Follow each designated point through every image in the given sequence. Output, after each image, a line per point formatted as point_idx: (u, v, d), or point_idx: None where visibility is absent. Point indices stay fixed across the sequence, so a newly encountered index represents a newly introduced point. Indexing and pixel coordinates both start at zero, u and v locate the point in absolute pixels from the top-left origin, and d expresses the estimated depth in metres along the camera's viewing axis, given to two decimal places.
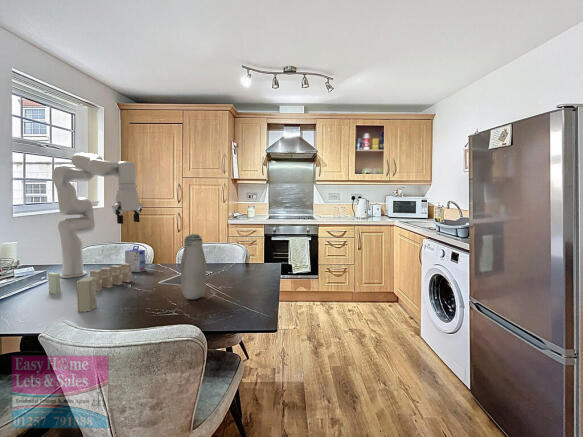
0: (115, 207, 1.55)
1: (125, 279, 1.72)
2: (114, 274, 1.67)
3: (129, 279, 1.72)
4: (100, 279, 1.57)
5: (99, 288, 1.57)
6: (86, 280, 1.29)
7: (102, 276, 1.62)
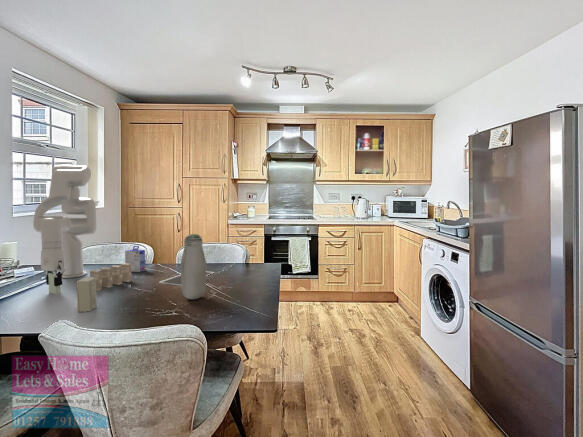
0: None
1: (125, 279, 1.72)
2: (114, 274, 1.67)
3: (129, 279, 1.72)
4: (100, 279, 1.57)
5: (99, 288, 1.57)
6: (86, 280, 1.29)
7: (102, 276, 1.62)
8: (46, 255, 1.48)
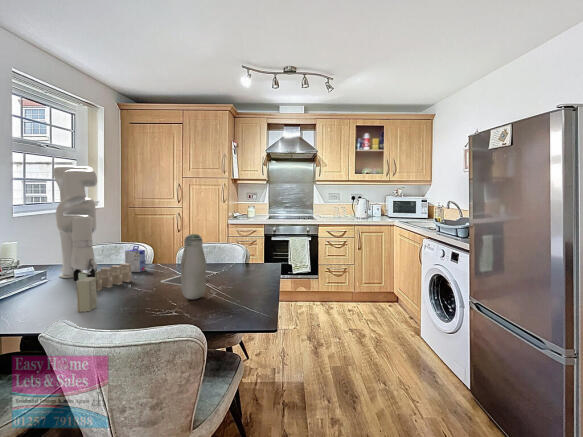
0: None
1: (125, 279, 1.72)
2: (114, 274, 1.67)
3: (129, 279, 1.72)
4: (100, 279, 1.57)
5: (99, 288, 1.57)
6: (86, 280, 1.29)
7: (102, 276, 1.62)
8: (77, 254, 1.49)
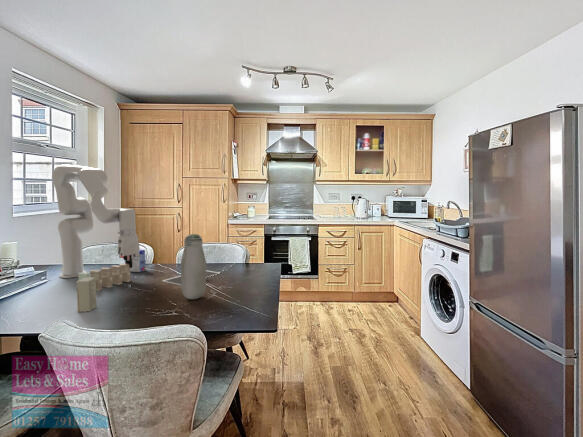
0: None
1: (125, 280, 1.72)
2: (114, 274, 1.67)
3: (129, 279, 1.72)
4: (100, 279, 1.57)
5: (99, 288, 1.57)
6: (86, 280, 1.29)
7: (102, 276, 1.62)
8: (132, 241, 1.72)
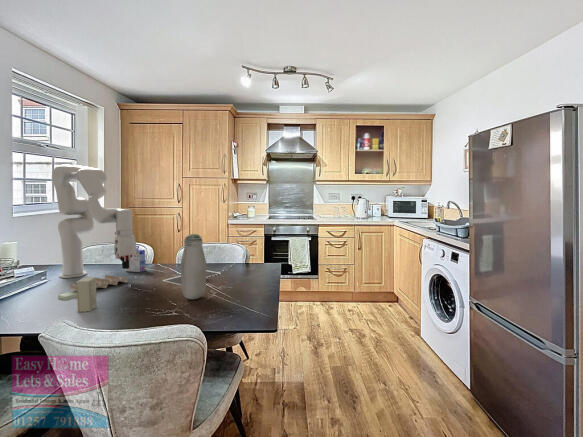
0: None
1: (122, 281, 1.70)
2: None
3: (125, 280, 1.69)
4: None
5: None
6: (86, 280, 1.29)
7: None
8: (129, 241, 1.70)
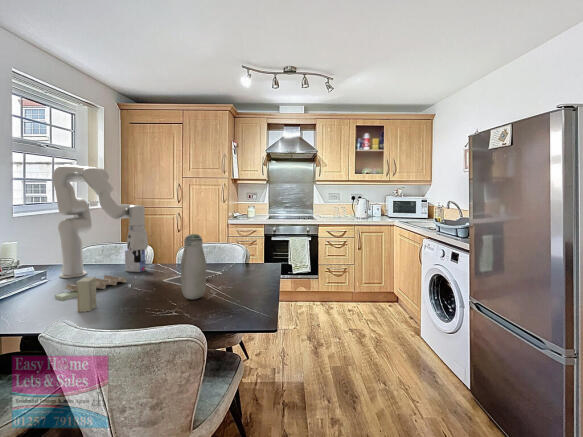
0: None
1: None
2: None
3: (124, 280, 1.69)
4: None
5: None
6: (86, 280, 1.29)
7: None
8: (141, 236, 1.78)
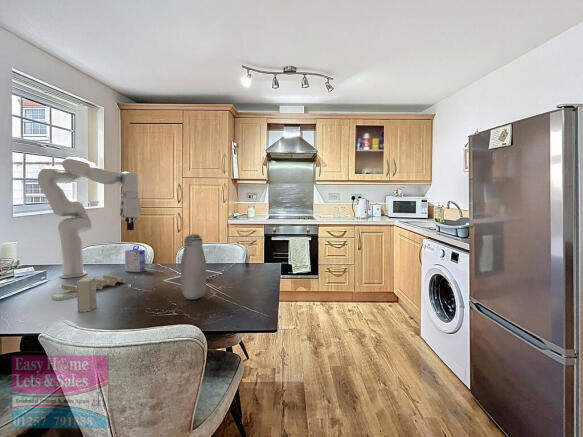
0: None
1: None
2: None
3: (123, 280, 1.69)
4: (74, 287, 1.49)
5: None
6: (86, 280, 1.29)
7: None
8: (134, 203, 1.76)
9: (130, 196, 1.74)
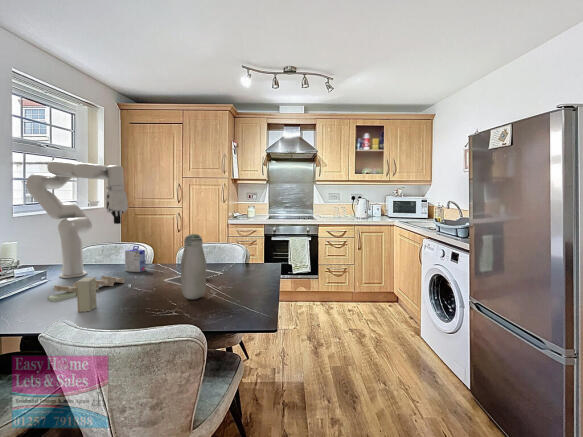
0: None
1: None
2: None
3: (122, 281, 1.68)
4: (68, 288, 1.47)
5: None
6: (86, 280, 1.29)
7: None
8: (120, 197, 1.76)
9: (116, 189, 1.74)
